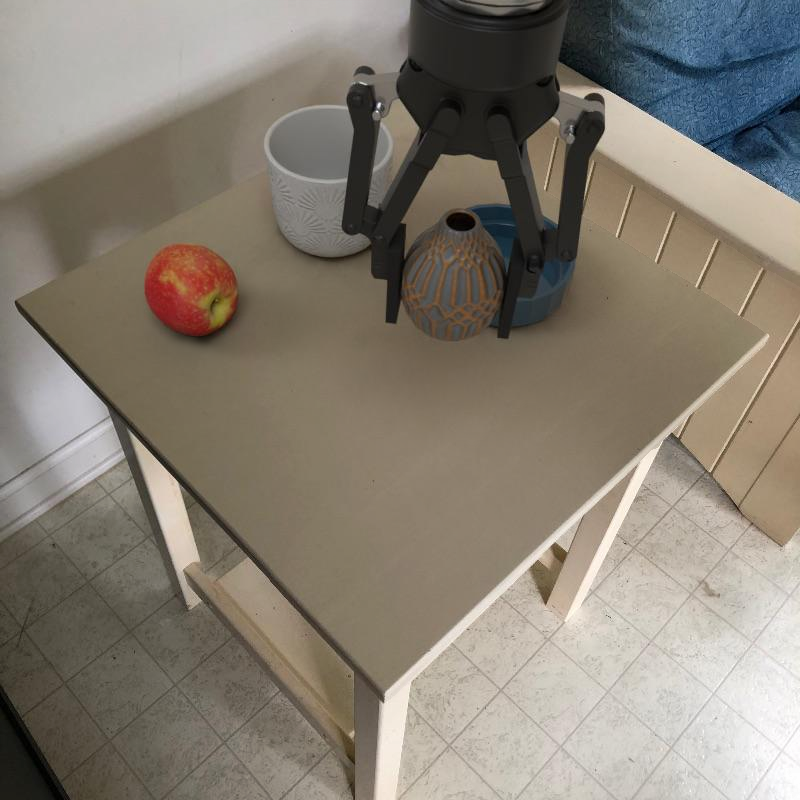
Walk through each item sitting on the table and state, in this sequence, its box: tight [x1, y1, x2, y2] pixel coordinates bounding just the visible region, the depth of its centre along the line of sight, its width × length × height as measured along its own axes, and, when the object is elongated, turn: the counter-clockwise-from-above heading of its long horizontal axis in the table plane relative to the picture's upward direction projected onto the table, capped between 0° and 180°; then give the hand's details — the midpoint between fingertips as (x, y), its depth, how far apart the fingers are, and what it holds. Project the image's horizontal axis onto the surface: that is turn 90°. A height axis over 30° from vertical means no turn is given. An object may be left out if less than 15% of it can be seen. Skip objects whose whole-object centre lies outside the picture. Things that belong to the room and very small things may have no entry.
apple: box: [143, 242, 239, 337], centre depth 76 cm, size 8×8×8 cm
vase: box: [400, 207, 507, 342], centre depth 53 cm, size 7×7×9 cm
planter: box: [263, 104, 395, 258], centre depth 83 cm, size 12×12×11 cm
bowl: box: [464, 202, 576, 327], centre depth 82 cm, size 14×14×4 cm
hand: (448, 316), depth 57 cm, fingers closed on vase, 7 cm apart
